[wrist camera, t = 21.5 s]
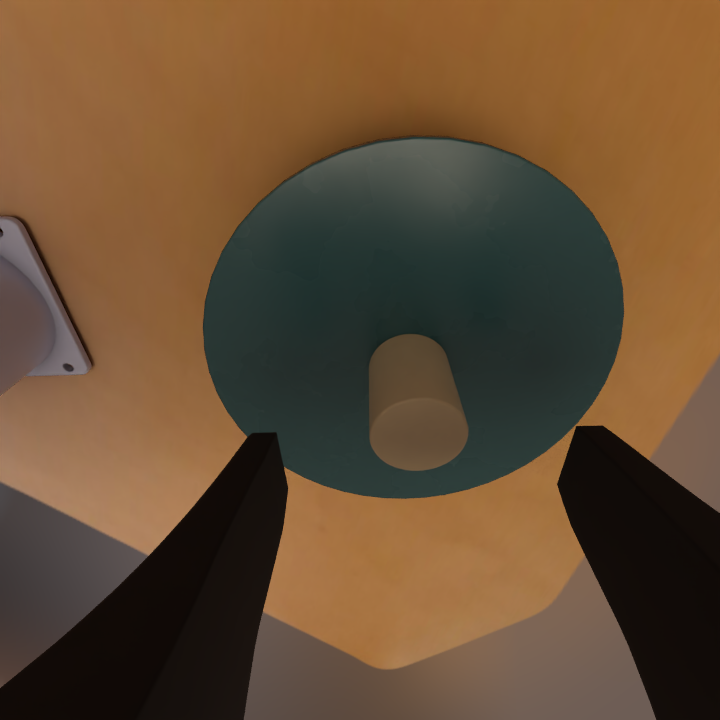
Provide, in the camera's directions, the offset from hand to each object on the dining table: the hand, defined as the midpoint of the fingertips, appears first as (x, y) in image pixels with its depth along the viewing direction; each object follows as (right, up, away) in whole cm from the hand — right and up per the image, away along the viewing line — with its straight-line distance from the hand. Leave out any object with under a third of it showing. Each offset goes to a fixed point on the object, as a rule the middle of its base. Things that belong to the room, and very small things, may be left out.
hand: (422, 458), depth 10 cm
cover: (0, +3, +4) cm, 4 cm away
